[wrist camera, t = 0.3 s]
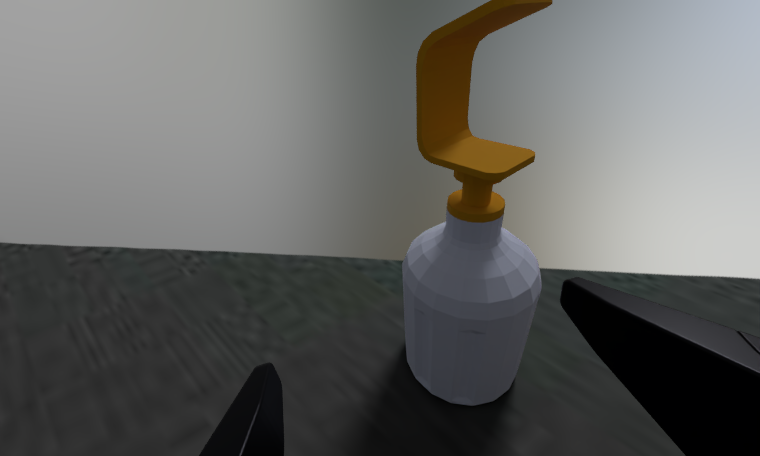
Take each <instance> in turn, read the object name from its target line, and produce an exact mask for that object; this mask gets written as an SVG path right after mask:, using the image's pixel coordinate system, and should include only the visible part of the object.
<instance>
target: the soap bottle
mask: <svg viewBox="0 0 760 456" xmlns="http://www.w3.org/2000/svg"><path fill="white" fill-rule="evenodd" d="M551 4H552V0H491V1H489V2H487V3H485V4H483V5H482V6H480V7H478V8H476V9H474V10H472V11H470V12H469V13H467V14H465V15H463V16H461V17H459V18H457V19H456V20H454V21H452V22H450V23H448V24H446V25H444V26H443V27H441V28H439V29H437V30H435V31H433V32H432V33H431V34H430V35H429V36H428V37H427V38H426V39H425V40H424V41H423V43H422V45H421V47H420V49H419V51H418V56H417V64H416V80H417V82H416V83H417V84H416V85H417V142H418V147H419V151H420V152H421V154H422V156H423V157H424V158H425V159H426V160H428V161H429V162H431V163H433V164H436V165H439V166H443V167H446V168H449V169H452V170H454V177H455V178H456V179H457V180H458V181H460V182H462V183H463V187H462V188H463V189H462V190H458V191H456V192H453V193H452V194H451V195H450V196H449V197H448V203H447V212H446V222H444V223H441V224H439V225H437V226H434V227H432V228H430V229H428V230H426V231H424V232H423V233H422V234H420V235H419V236H418V237H417V238H416V239H415V240H413V241H412V243H411V245H410V248H409V250H408V252H407V255H406V257H405V259H404V261H403V263H402V272H403V295H404V318H405V341H406V354H407V362H408V364H409V366H410V368H411V370H412V372H413V374H414V376H415V378H416V379H417V380H418V381H419V382H420V383H421V384H422V385H423V386H424V387H425V388H426V389H427V390H428V391H429V392H430V393H431V394H433V395H435V396H437V397H439V398H441V399H443V400H445V401H447V402H450V403H453V404H461V405H469V406H475V405H479V404H483V403H488V402H492V401H494V400H496V399H497V398H498V397H500V396H501V395H502V394H504V393H505V392H506V391H507V390H509V388H510V386H511V384H512V382H513V380H514V378H515V376H516V374H517V371H518V367H519V364H520V361H521V357H522V354H523V350H524V347H525V343H526V340H527V337H528V333H529V330H530V326H531V323H532V319H533V316H534V313H535V309H536V306H537V302H538V299H539V295H540V292H541V289H542V286H541V276H540V269H539V265H538V261H537V259H536V257H535V256H534V254H533V253H532V251H531V250H530V248H529V247H528V246H527V245H526V244H525V243H523V242H522V241H521V240H520V239H518V238H517V237H516V236H514V235H513V234H511V233H510V232H509V231H508V230H506V229H504V228H502V220H503V215H504V208H505V201H504V199H503V198H502V197H501V196H500V195H499V194H497V193H494V192H492V186H493V184H496V183H499V182H501V181H502V180H503V179H505V178H507V177H508V176H510V175H512V174H514V173H515V172H517V171H519V170H520V169H522V168H524V167H526V166H527V165H529V164H531V163H532V162H534V158H535V152H534V151H532V150H530V149H525V148H521V147H516V146H512V145H507V144H502V143H497V142H493V141H488V140H484V139H479V138H477V137H474V136H472V134H471V132H470V130H469V126H468V106H469V93H470V81H471V68H472V60H473V56H474V52H475V50H476V48H477V45H478V43H479V41H481V40H482V39H483V38H484V37H485V36H487V35H488V34H490V33H492V32H494V31H496V30H498V29H500V28H503V27H505V26H507V25H509V24H511V23H514V22H516V21H518V20H520V19H522V18H524V17H526V16H529V15H531V14H533V13H535V12H537V11H540V10H542V9H544V8H546V7H548V6H549V5H551Z"/></svg>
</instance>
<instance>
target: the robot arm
mask: <svg viewBox="0 0 760 456" xmlns="http://www.w3.org/2000/svg"><path fill="white" fill-rule="evenodd" d="M560 303H561V306H562V308H563V309H564V311H565V312H566V313H567V315H568V316H569V317H570V319H571V320H572V322H573V323H574V324H575V326H576V327H577V328H578V330H579V331H580V333H581V334H582V335H583V337H584V338H585V339H586V341H587V342H588V344H589V345H590V346H591V347H592V349H593V350H594V351H595V352H596V354H597V355H598V356H599V357H600V358H601V360H602V361H603V362H604V363H605V364H606V365H607V366H608V367H609V369H610V370H611V371H612V372H613V373H614V374H615V375H616V377H617V378H618V379H619V380H620V381H621V382H622V383H623V385H624V386H625V387H626V388H627V389H628V390H629V391H630V393H631V394H632V395H633V396H634V397H635V398H636V399H637V401H638V402H639V403H640V404H641V405H642V406H643V407H644V409H645V410H646V411H647V412H648V413H649V414H650V415H651V417H652V418H653V419H654V420H655V421H656V422H657V423H658V425H659V426H660V427H661V428H662V429H663V430H664V431H665V433H666V434H667V435H668V436H669V437H670V438H671V439H672V441H673V442H674V443H675V444H676V445H677V446H678V447H679V449H680V450H681V451H682V452H683V453H684V454H685V455H686V456H760V338H759V337H756V336H753V335H750V334H747V333H744V332H741V331H736V330H735V329H732V328H729V327H726V326H723V325H720V324H717V323H714V322H711V321H708V320H705V319H702V318H699V317H696V316H693V315H690V314H687V313H684V312H681V311H678V310H675V309H672V308H669V307H666V306H663V305H660V304H657V303H654V302H651V301H648V300H645V299H642V298H639V297H636V296H633V295H630V294H627V293H624V292H621V291H618V290H615V289H612V288H609V287H606V286H603V285H600V284H597V283H594V282H592V281H589V280H586V279H583V278H579V277H574V278H571V279H567V280H565V281H564V282H563V285H562V291H561V297H560ZM199 456H284V424H283V397H282V384H281V381H280V378H279V376H278V374H277V372H276V370H275V368H274V366H273V364H272V363H266V364H262V365H259V366H256V367H255V368H254V370H253V371H252V373H251V375H250V376H249V378H248V379H247V381H246V382H245V384H244V386H243V387H242V389H241V390H240V392H239V393H238V395H237V397H236V398H235V400H234V401H233V403H232V404H231V406H230V408H229V409H228V411H227V412H226V414H225V415H224V417H223V419H222V420H221V422H220V423H219V425H218V427H217V428H216V430H215V431H214V433H213V434H212V436H211V438H210V439H209V441H208V442H207V444H206V445H205V447H204V449H203V450H202V452H201V453H200V455H199Z"/></svg>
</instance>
